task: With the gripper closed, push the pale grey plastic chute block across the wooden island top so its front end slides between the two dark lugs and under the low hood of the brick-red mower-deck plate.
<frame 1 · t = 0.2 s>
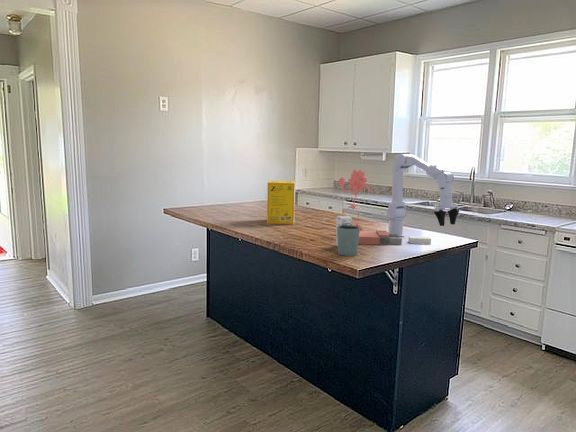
hand: (447, 225, 214), 10 cm above the countertop, tool pointing down, fingers open, 7 cm apart
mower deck: (387, 241, 224), on the countertop
green tapered cup: (347, 253, 196), on the countertop
chute: (419, 243, 223), on the countertop
syrup box: (343, 246, 210), on the countertop
pink flower bunch: (355, 232, 246), on the countertop
packaging box: (281, 222, 277), on the countertop
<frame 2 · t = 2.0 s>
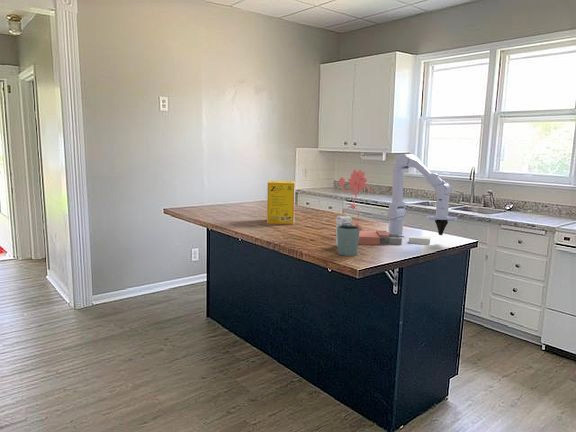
hand: (440, 234, 221), 4 cm above the countertop, tool pointing down, fingers closed
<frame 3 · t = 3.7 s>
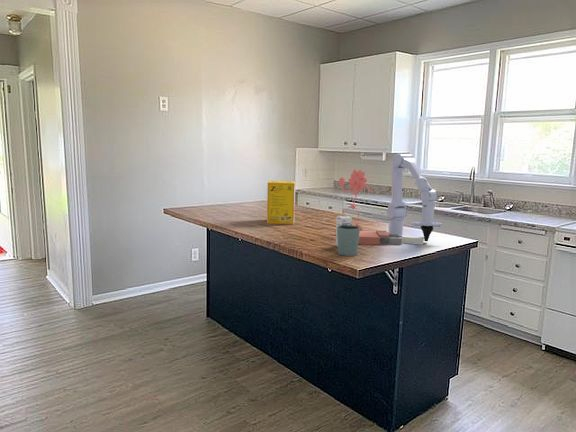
hand: (426, 240, 222), 1 cm above the countertop, tool pointing down, fingers closed
chute: (412, 242, 222), on the countertop, touching gripper
everything else where it was.
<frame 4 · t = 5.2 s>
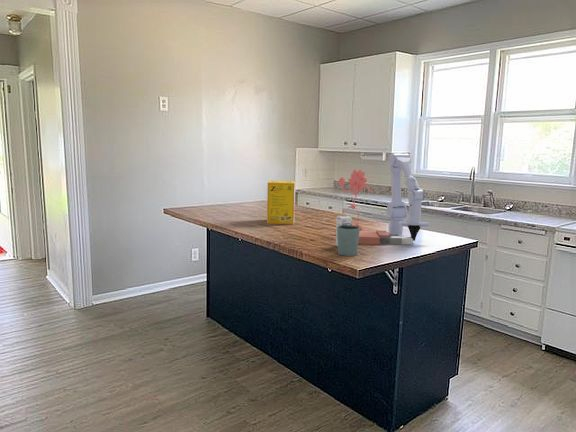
hand: (413, 240, 223), 1 cm above the countertop, tool pointing down, fingers closed
chute: (401, 243, 221), on the countertop
everything else where it was.
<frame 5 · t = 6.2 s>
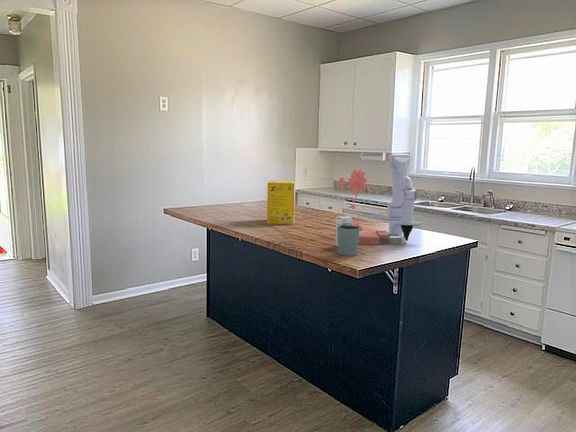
hand: (405, 240, 223), 1 cm above the countertop, tool pointing down, fingers closed
chute: (394, 243, 222), on the countertop, touching gripper
everything else where it was.
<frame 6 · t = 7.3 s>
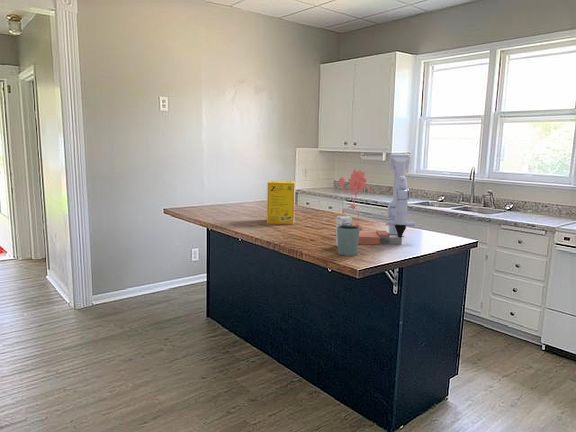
hand: (399, 239, 223), 1 cm above the countertop, tool pointing down, fingers closed
chute: (388, 242, 222), on the countertop, touching gripper, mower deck
everything else where it was.
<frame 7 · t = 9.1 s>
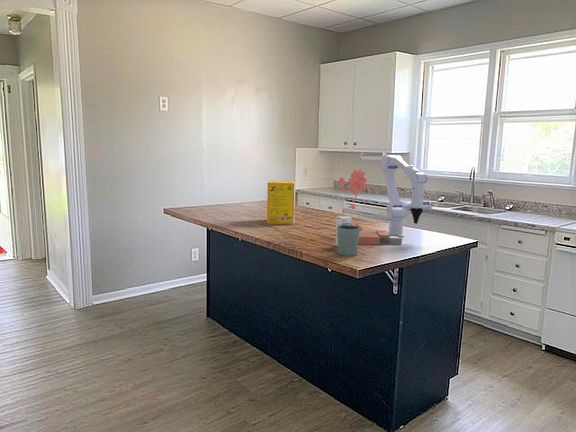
hand: (415, 223, 223), 9 cm above the countertop, tool pointing down, fingers closed
chute: (388, 242, 222), on the countertop
everything else where it was.
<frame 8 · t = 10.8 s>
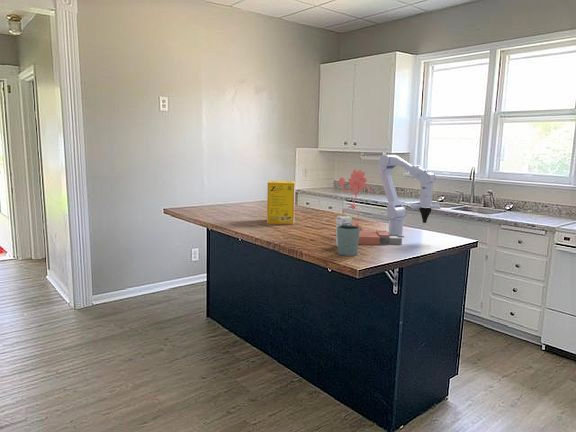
hand: (424, 222, 226), 9 cm above the countertop, tool pointing down, fingers closed
nothing on the countertop moved.
at the end: chute 2.1 cm from the target spot, on the countertop; chute tilted 0° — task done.
